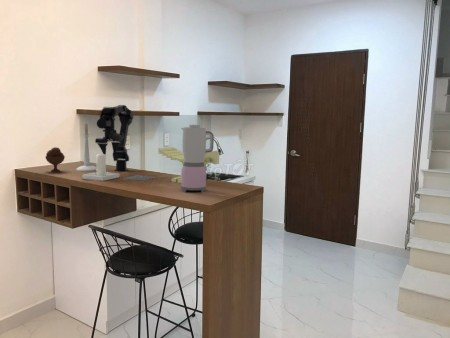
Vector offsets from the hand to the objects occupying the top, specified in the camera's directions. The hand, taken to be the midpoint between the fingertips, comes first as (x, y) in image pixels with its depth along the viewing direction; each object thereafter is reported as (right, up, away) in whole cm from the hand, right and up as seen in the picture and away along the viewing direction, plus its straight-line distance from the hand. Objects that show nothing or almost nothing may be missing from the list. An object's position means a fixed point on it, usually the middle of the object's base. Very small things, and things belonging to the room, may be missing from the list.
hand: (109, 154), depth 221 cm
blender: (+55, -20, -39) cm, 70 cm away
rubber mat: (+20, -14, -11) cm, 27 cm away
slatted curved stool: (+48, -16, -13) cm, 53 cm away
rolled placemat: (0, -14, -14) cm, 20 cm away
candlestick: (-20, -9, +17) cm, 28 cm away
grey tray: (0, -14, -14) cm, 20 cm away
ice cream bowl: (-35, -11, +6) cm, 37 cm away
